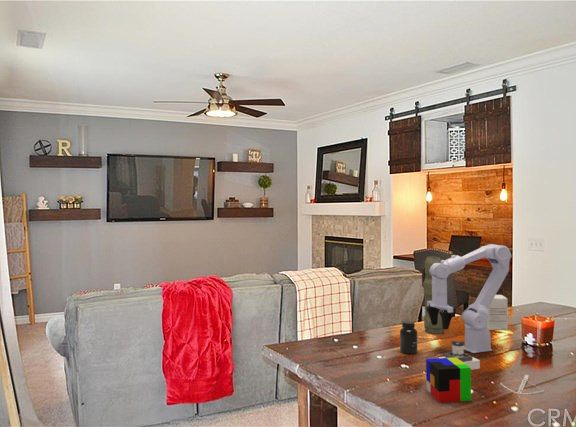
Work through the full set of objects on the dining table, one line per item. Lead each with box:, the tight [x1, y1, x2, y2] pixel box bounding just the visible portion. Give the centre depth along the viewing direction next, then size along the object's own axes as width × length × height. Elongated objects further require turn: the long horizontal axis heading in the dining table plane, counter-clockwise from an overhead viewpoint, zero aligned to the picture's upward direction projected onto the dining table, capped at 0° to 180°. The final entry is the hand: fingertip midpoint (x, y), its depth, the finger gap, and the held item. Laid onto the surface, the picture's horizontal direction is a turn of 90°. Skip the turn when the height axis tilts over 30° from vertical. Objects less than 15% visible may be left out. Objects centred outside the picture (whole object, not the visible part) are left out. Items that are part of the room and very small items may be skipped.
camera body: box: [437, 351, 481, 371], centre depth 173 cm, size 12×8×4 cm, turn 107°
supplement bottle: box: [399, 320, 418, 355], centre depth 192 cm, size 7×7×12 cm
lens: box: [451, 340, 465, 358], centre depth 173 cm, size 4×4×6 cm
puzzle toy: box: [425, 357, 472, 403], centre depth 148 cm, size 10×10×10 cm
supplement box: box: [485, 294, 509, 331], centre depth 226 cm, size 9×9×15 cm
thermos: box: [421, 255, 445, 335], centre depth 221 cm, size 9×12×35 cm
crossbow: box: [499, 374, 545, 396], centre depth 154 cm, size 16×13×2 cm
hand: (440, 326), depth 191 cm, fingers open, 7 cm apart
